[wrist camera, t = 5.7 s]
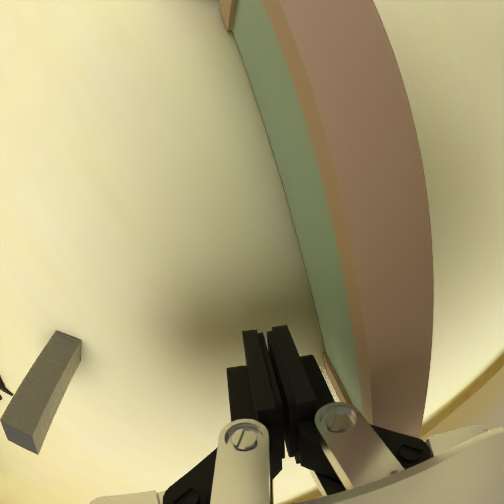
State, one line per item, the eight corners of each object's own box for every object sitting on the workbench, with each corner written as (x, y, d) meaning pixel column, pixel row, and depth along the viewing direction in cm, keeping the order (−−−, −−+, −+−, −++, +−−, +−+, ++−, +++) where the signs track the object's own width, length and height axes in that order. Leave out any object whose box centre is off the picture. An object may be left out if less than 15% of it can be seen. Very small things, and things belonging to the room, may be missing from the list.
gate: (264, 0, 10) (311, -104, 3) (358, 360, 16) (415, 454, 10) (219, 9, 10) (227, -101, 3) (327, 373, 16) (373, 474, 10)
